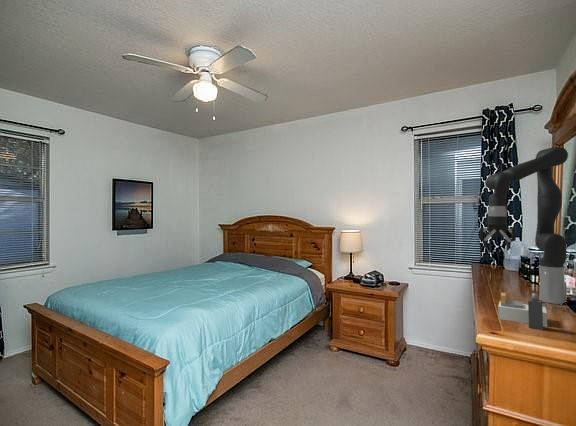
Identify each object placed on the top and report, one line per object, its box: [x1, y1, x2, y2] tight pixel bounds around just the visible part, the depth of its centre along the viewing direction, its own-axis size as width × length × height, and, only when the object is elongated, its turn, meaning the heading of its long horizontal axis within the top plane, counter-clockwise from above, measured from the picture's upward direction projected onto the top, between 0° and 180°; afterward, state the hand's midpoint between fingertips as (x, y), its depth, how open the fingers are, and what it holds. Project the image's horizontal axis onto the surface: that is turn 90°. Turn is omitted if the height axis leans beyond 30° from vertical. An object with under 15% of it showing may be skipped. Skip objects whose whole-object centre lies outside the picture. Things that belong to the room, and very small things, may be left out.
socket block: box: [498, 300, 548, 327], centre depth 123 cm, size 10×15×5 cm, turn 53°
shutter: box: [500, 292, 523, 308], centre depth 125 cm, size 7×7×4 cm
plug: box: [527, 292, 544, 331], centre depth 114 cm, size 4×4×12 cm
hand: (497, 249), depth 148 cm, fingers open, 8 cm apart
